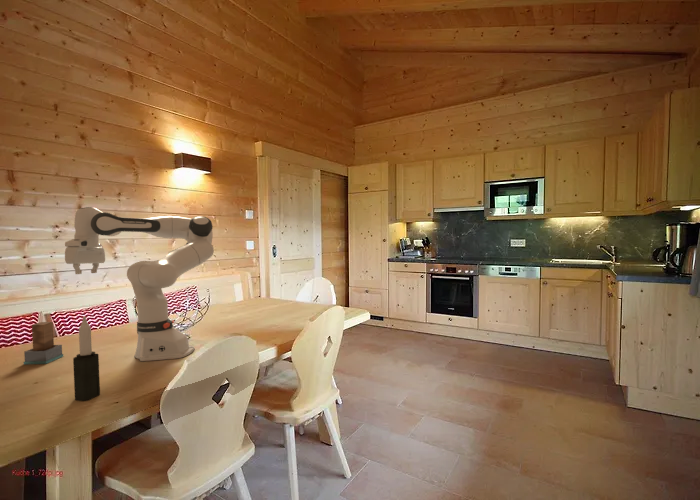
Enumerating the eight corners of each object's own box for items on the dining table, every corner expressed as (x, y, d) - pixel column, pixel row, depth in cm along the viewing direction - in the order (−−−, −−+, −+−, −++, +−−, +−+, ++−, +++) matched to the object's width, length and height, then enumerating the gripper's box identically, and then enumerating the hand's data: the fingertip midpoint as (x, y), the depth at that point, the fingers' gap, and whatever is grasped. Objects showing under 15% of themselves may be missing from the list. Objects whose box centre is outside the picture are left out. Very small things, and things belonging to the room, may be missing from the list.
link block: (54, 355, 144) (52, 321, 144) (45, 359, 140) (43, 324, 139) (42, 356, 144) (41, 322, 144) (33, 359, 140) (31, 324, 139)
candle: (86, 401, 106) (83, 318, 105) (72, 400, 107) (69, 318, 106) (101, 393, 111) (98, 314, 110) (88, 392, 112) (85, 314, 111)
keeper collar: (63, 356, 147) (62, 344, 146) (46, 363, 138) (45, 351, 138) (42, 356, 146) (41, 344, 146) (23, 364, 138) (23, 351, 137)
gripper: (95, 243, 170) (95, 272, 170) (61, 242, 150) (61, 274, 150) (109, 243, 170) (108, 272, 170) (76, 242, 150) (76, 274, 150)
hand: (86, 273), depth 160 cm, fingers open, 8 cm apart
